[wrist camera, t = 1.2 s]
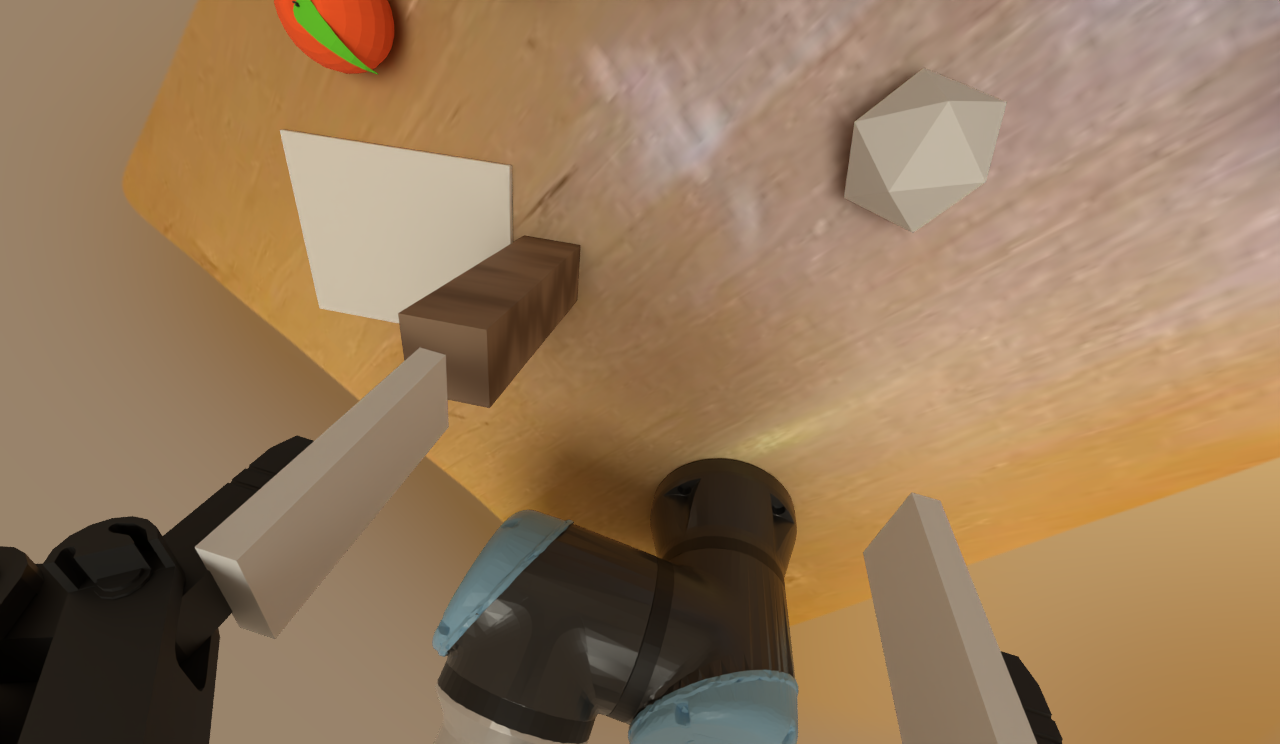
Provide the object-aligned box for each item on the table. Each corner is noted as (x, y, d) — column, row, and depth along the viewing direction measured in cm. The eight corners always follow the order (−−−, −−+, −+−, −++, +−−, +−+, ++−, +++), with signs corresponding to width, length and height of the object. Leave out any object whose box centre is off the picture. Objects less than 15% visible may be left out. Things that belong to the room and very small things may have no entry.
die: (825, 213, 37) (925, 275, 31) (803, 114, 31) (924, 166, 25) (913, 145, 37) (1034, 194, 30) (910, 29, 30) (1063, 61, 24)
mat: (513, 342, 47) (511, 345, 46) (323, 306, 49) (319, 308, 48) (511, 165, 39) (509, 165, 39) (284, 129, 41) (279, 129, 40)
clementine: (443, 42, 36) (382, 29, 30) (390, 109, 39) (325, 110, 32) (358, -66, 33) (273, -104, 27) (309, 13, 36) (222, -5, 30)
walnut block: (577, 300, 44) (489, 408, 28) (524, 290, 44) (408, 391, 29) (580, 245, 41) (486, 329, 26) (523, 235, 42) (397, 313, 26)
